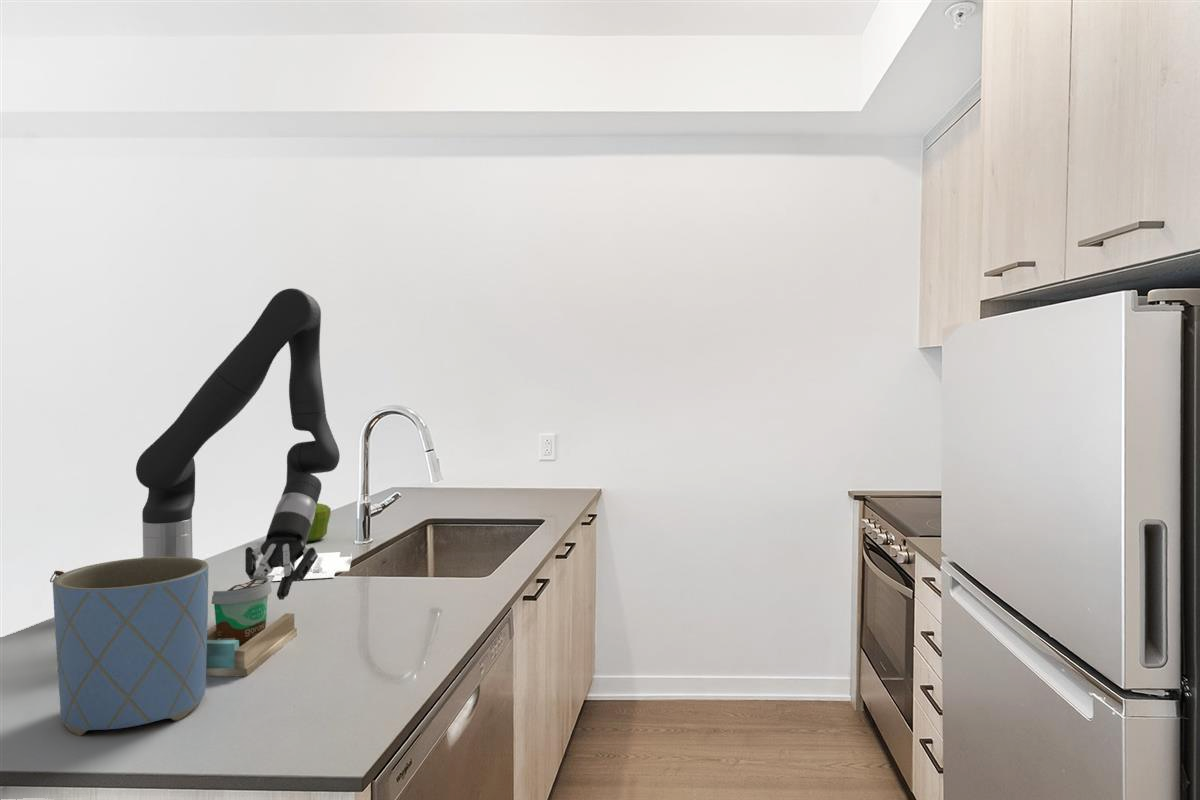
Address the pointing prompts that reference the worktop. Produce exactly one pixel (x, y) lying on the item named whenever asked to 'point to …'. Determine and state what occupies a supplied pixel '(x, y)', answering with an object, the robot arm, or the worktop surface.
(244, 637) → the food container
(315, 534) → the apple
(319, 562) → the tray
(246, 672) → the channel board
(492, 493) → the worktop surface
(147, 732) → the worktop surface
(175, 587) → the planter
